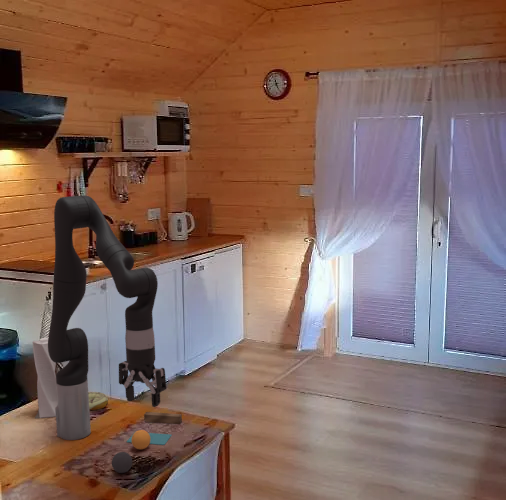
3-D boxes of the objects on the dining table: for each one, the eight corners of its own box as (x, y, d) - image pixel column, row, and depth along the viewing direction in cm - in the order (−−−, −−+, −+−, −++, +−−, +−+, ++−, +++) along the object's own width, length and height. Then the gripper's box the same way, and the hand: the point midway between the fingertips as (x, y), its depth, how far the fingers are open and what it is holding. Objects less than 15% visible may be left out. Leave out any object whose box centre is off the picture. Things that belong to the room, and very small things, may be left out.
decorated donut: (90, 414, 213) (89, 404, 212) (69, 408, 219) (68, 397, 218) (114, 404, 221) (113, 394, 220) (93, 398, 227) (92, 388, 227)
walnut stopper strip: (144, 421, 206) (144, 414, 205) (146, 419, 208) (146, 411, 207) (179, 424, 203) (179, 416, 203) (181, 421, 205) (181, 414, 205)
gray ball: (108, 476, 171) (107, 456, 171) (117, 466, 177) (116, 447, 176) (128, 477, 170) (127, 458, 169) (135, 467, 176) (134, 449, 175)
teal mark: (126, 442, 191) (126, 441, 191) (134, 432, 198) (134, 431, 198) (164, 445, 189) (164, 444, 189) (171, 435, 195) (171, 434, 195)
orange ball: (129, 452, 185) (128, 434, 184) (136, 443, 190) (135, 426, 189) (146, 453, 184) (146, 435, 183) (153, 444, 189) (152, 427, 188)
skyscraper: (64, 409, 218) (58, 329, 214) (60, 418, 210) (54, 336, 206) (38, 411, 217) (32, 331, 213) (34, 420, 209) (27, 338, 205)
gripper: (109, 344, 167) (113, 403, 170) (152, 351, 160) (155, 413, 163) (128, 337, 174) (131, 393, 176) (170, 344, 167) (173, 402, 169)
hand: (143, 403), depth 170 cm, fingers open, 8 cm apart
